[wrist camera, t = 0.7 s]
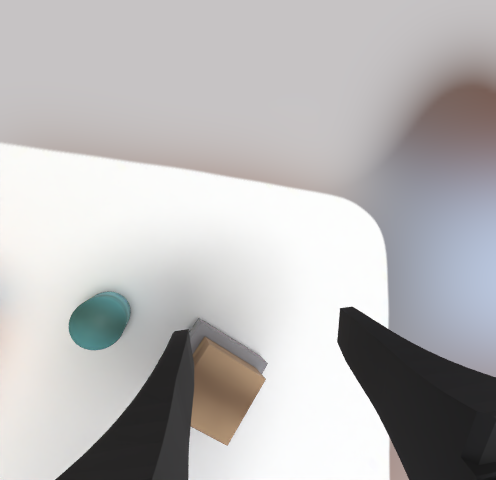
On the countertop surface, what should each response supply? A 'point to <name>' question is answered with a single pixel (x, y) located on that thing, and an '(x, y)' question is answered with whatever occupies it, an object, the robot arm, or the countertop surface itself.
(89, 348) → the teal cylinder
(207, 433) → the walnut block
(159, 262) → the countertop surface
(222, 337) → the charcoal base block
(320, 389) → the countertop surface
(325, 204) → the countertop surface
